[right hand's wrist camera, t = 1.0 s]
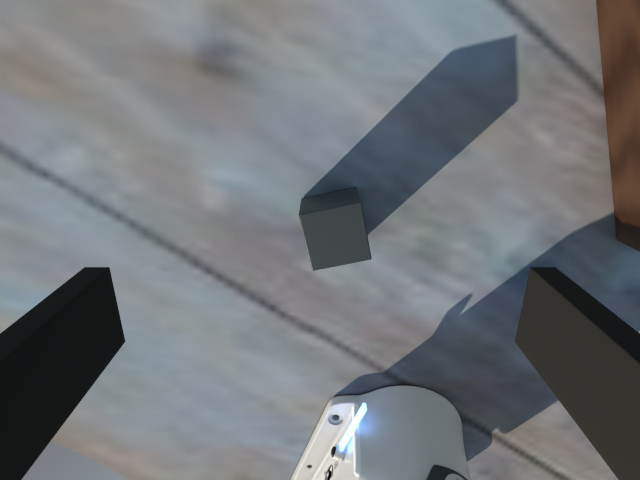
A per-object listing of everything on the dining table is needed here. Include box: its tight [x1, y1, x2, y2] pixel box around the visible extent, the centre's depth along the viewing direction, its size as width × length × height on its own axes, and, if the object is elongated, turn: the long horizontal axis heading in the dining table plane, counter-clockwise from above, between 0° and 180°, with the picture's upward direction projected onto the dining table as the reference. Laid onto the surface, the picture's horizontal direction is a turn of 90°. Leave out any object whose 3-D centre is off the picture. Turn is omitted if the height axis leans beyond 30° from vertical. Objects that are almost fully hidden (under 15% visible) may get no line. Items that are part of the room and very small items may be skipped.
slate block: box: [299, 187, 371, 271], centre depth 34 cm, size 5×5×5 cm
